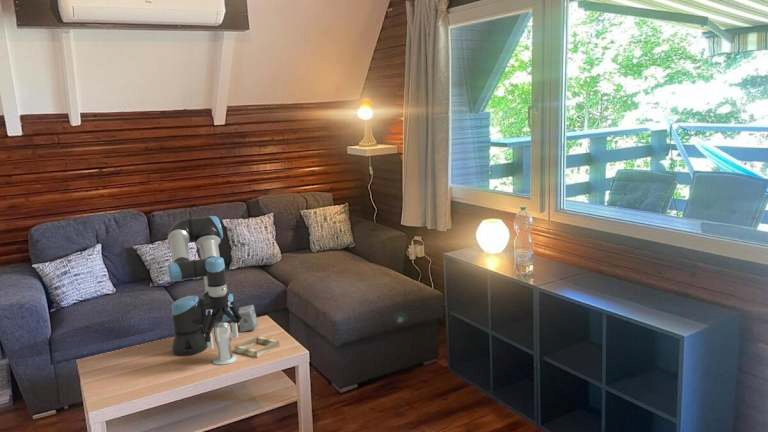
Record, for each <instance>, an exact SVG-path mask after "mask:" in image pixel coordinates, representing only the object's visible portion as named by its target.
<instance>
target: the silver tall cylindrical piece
mask: <svg viewBox="0 0 768 432" xmlns="http://www.w3.org/2000/svg"><path fill="white" fill-rule="evenodd" d="M213 334H214V341H215V344H216V348H217V352H218V355H217V356H218V360H219V361H229V360H231V359H232V358H233V355H232V354H233V353H232V339H233V334H232V327H231V324H230V322H228V321H224V322H217V323H215V324H214V326H213Z"/></svg>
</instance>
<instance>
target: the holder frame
mask: <svg viewBox="0 0 768 432" xmlns="http://www.w3.org/2000/svg"><path fill="white" fill-rule="evenodd" d="M256 344H262V345H264V346H263V347H261V348H259V349H254V348H251V347H252V346H255V345H256ZM279 347H281V346H280V340H275V339H271V338H268V337H263V336H260V335H257V336H254V337H252V338H250V339H248V340H246V341H243V342H242V343H240V344H237V345H235V346H234V349H235V351H234V352H235V353H238V354H243V355H245V354H246V356H249V357H253V358H260V357H262V356H264V355H265V354H268V353H270V352H272V351H273V350H275V349H277V348H279Z"/></svg>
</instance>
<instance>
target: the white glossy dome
mask: <svg viewBox="0 0 768 432" xmlns="http://www.w3.org/2000/svg"><path fill="white" fill-rule="evenodd" d="M232 355H233V358H232V359H231V360H229V361H219V360H218V355H217V356H216V357H214V358H213V360H212V362H213V364H214V365H217V366H226V365H230V364H232V363H235V362H236V361H237V360H238V355H236V354H234V353H232Z"/></svg>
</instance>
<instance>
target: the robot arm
mask: <svg viewBox="0 0 768 432" xmlns="http://www.w3.org/2000/svg"><path fill="white" fill-rule="evenodd" d="M223 238H224V232H223V228H222V225H221V222H220V219H219V217H218V216H215V215H207V216H199V217H192V218H191V217H190V218H183V219H180V220H179V221H177V222H175V223H174V224H173V225H172V226H171V228H170V229H169V230H168V233H167V242H168V244H169V246H170V251H171V252H170V253H171V260H172V262H171V263H169V264H168V265H167V270H168V275H169V276H168V277H169V280H170V281H172V282H173V281H182V280H189V279H196V278H203V281H204V288H205V292H203V294H202V298H199V296H197V295H187V296H184V297H181V298H179V299H177V300H175V301H174V302H172V304H171V315H172V322H173V329H174V337H173V343H172V346H171V349H172V353H173V354H174V355H176V356H181V357H182V356H193V355H196V354H199V353H202V352H204V351H205V350H207V349H210V350H214V340H213V333H211V332H212V330H213V329H214V325H215V324H218V323H222V322H228V321H232V322H231V324H230V326H231V335H232V338H236V339H238V338H239V331H238V329H239V324H240V323H239V322H240V320H241V316H240V314H239V310H238V309H237V307H236V306H235V301H234V294H232V293H230V291H229V289H228V286H227V280H226V264H225V260H224V259H225V258H223V257H220V256H221V255H220V249H219V245H220V244H221V240H222V239H223ZM189 243H191V244H192V243H195V246H196V247H197V248H199V254H200V258H199V259H192V260H191V256H190V249H189V247H190V246H189Z"/></svg>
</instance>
